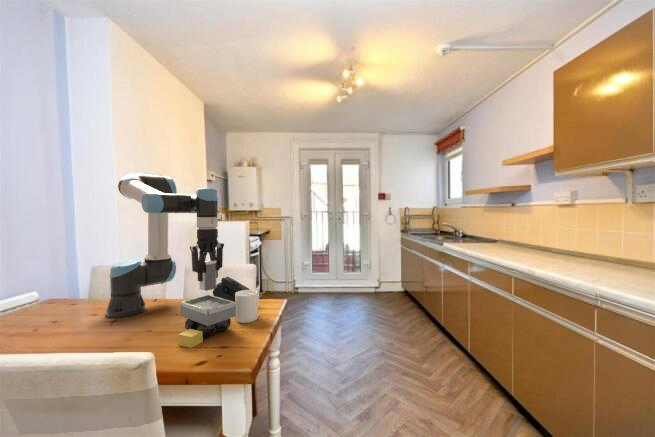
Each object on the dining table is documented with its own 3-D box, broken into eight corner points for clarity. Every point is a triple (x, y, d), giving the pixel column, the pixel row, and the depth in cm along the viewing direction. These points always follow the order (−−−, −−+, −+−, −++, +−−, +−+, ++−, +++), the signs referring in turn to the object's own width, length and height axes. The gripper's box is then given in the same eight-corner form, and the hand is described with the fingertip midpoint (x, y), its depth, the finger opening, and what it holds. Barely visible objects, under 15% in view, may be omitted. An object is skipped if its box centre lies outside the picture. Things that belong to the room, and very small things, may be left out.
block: (178, 345, 102) (178, 334, 101) (189, 339, 106) (189, 328, 106) (191, 348, 99) (191, 336, 99) (202, 342, 104) (202, 331, 104)
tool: (209, 299, 145) (224, 273, 145) (243, 317, 146) (258, 291, 146) (205, 303, 138) (221, 276, 139) (240, 321, 140) (256, 295, 140)
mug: (231, 322, 122) (230, 295, 122) (244, 312, 134) (244, 287, 133) (251, 324, 120) (251, 296, 120) (263, 314, 132) (263, 288, 132)
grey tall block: (199, 289, 112) (199, 261, 112) (209, 286, 116) (209, 259, 116) (206, 290, 110) (206, 262, 109) (216, 288, 113) (216, 260, 113)
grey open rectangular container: (179, 331, 113) (179, 302, 113) (209, 321, 124) (209, 294, 123) (206, 343, 103) (206, 311, 102) (236, 330, 113) (236, 301, 113)
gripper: (191, 229, 103) (192, 294, 104) (232, 227, 117) (232, 284, 118) (180, 229, 107) (181, 291, 108) (220, 227, 121) (221, 282, 122)
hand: (208, 288), depth 113 cm, fingers closed on grey tall block, 4 cm apart
